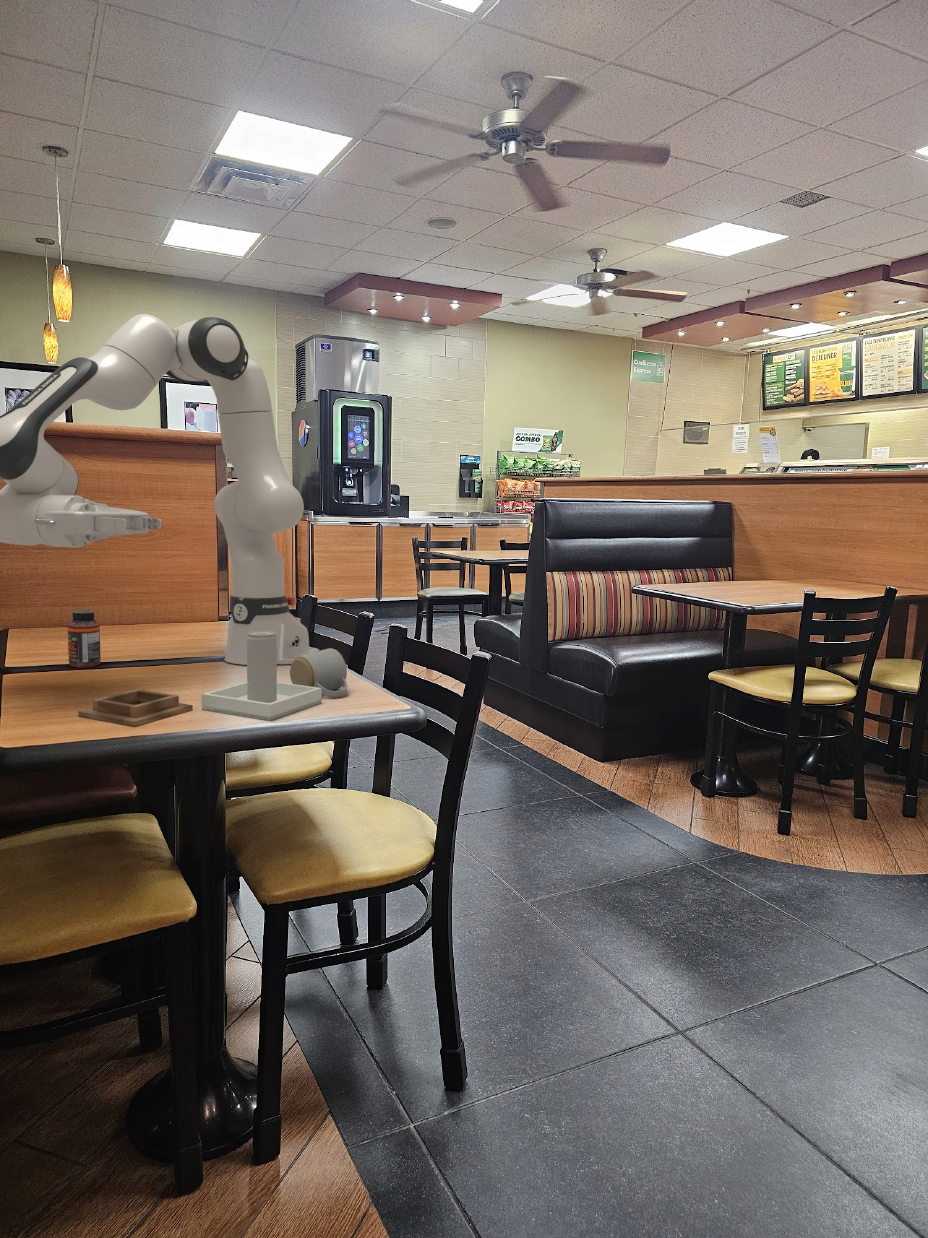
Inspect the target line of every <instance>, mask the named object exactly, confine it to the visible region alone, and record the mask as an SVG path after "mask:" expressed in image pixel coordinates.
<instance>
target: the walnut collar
mask: <svg viewBox="0 0 928 1238" xmlns="http://www.w3.org/2000/svg"><path fill="white" fill-rule="evenodd" d="M179 700H180V695H175V694H169V693H164V692H158V691H157V692H156V691H153V690H147V689H146V688H145V687H132V688H130V690H129V691H125V692H124V691H123V692H120V693H116V694H112V695H108V696H103V697H100V698H94V699H92V707H90V708H89V707H88V708H87V709H86V708H85V709H83V710H78V711H77V712H78V714H77V715H78V717H80V718H86V719H91V720H96V721H101V720H102V722H108V723H112V724H117V723H119V724H118V725H123V726H127V727H134V728H135V727H139V726H142V725H145V724H149V723H152V722H156V720H157V721H160V720H163V719H166V718H165V717H167V718H169V717H173V716H172V715H174V716H177V715H179V714H183V712H184V713H187V712H190V711H189V710H191V711H193V710H194V709H193V707H194V706H193V704H187V703H182V702H179ZM176 714H177V715H176Z"/></svg>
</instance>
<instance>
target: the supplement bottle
mask: <svg viewBox="0 0 928 1238" xmlns="http://www.w3.org/2000/svg"><path fill="white" fill-rule="evenodd" d="M71 618H72V619H71V621H70V622H68V624H67V649H68V666H70V667H72V668H77V669H85V668H86V669H87V668H93V667H98V666H100V665H101V662H102V661H101V660H102V659H101V629H100V627H101V626H100V623H99V622H98V621H97V620H95V611H94V610H90V609H81V610H80V609H79V610H73V611H72V617H71Z"/></svg>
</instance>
